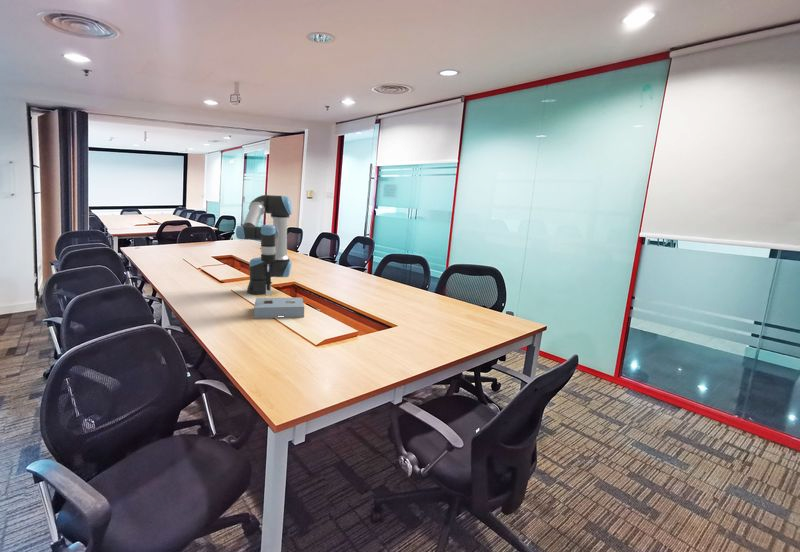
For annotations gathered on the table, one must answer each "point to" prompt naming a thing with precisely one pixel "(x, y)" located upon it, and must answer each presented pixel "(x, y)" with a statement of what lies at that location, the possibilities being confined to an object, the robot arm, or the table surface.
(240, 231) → the robot arm
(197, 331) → the table surface
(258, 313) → the socket block
